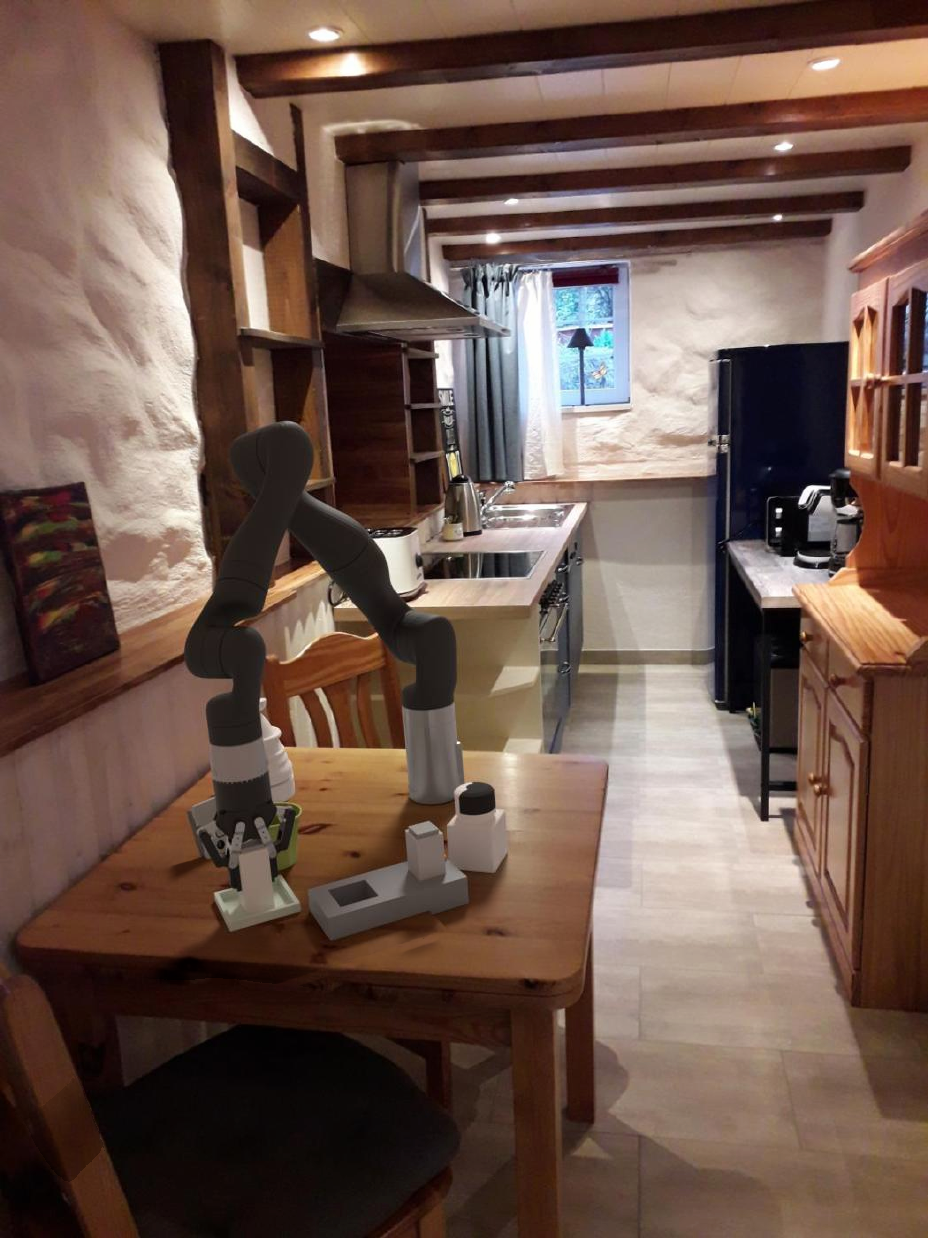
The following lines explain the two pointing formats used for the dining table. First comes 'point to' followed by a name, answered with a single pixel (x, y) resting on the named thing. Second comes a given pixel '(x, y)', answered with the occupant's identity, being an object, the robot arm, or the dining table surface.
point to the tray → (238, 919)
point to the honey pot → (277, 761)
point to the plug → (255, 877)
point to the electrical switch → (204, 816)
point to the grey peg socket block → (392, 888)
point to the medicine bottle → (477, 829)
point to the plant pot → (290, 855)
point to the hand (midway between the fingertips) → (254, 884)
